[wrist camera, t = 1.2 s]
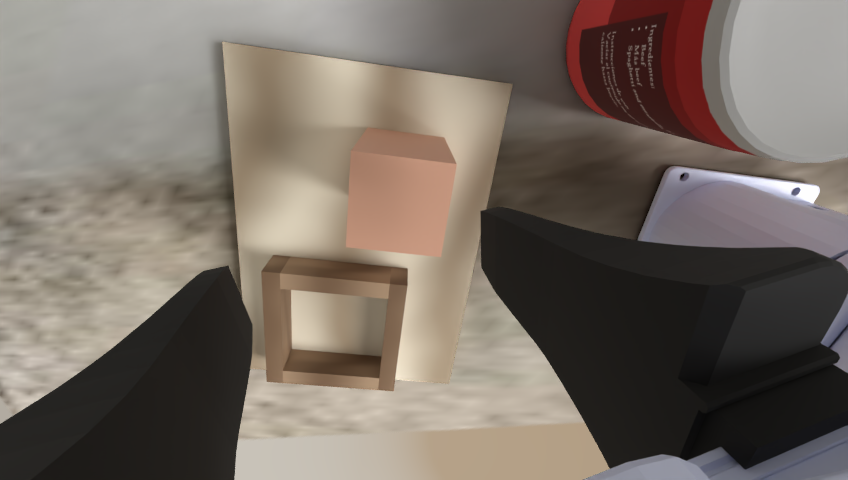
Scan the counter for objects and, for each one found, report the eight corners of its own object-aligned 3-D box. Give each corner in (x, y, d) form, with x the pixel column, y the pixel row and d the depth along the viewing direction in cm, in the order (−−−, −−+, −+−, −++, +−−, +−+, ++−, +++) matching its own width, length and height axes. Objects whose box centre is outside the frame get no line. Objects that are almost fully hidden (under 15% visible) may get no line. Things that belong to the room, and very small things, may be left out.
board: (508, 83, 20) (523, 86, 17) (447, 373, 28) (451, 406, 25) (231, 43, 19) (200, 38, 16) (253, 358, 27) (235, 391, 24)
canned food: (747, -37, 18) (1175, -169, 8) (667, 132, 21) (898, 191, 11) (598, -83, 17) (869, -299, 7) (538, 101, 20) (664, 134, 10)
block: (444, 137, 20) (456, 164, 14) (433, 208, 21) (441, 257, 16) (367, 127, 19) (350, 150, 14) (362, 200, 21) (345, 247, 16)
